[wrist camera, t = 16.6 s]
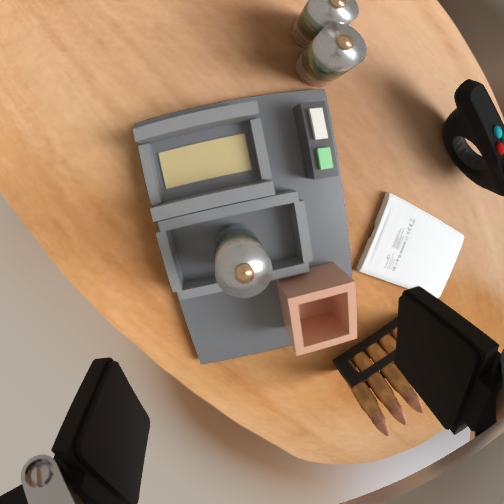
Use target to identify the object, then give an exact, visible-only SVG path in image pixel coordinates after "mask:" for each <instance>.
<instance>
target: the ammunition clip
mask: <svg viewBox="0 0 504 504" xmlns="http://www.w3.org/2000/svg"><path fill="white" fill-rule="evenodd" d="M397 325H398V318H396V319H395V320H393V321H392V322H391V323H389V324H388V325H386V326H385V327H383V328H382V329H381V330H379V331H378V332H376V333H375V334H373V335H372V336H370V337H369V338H367V339H366V340H364V341H362V342H361V343H359V344H358V345H356V346H355V347H353V348H351V349H350V350H348V351H347V352H345V353H343V354H342V355H340V356H338V357H337V358H335V359H333V362H334V364H335V365H336V367H337V369H338V370H339V372H340V373H341V375H342V376H343V378H344V379H345V381H346V382H347V384H348V386H349V387H350V389H351V391H352V392H353V394H354V396H355V398H356V399H357V401H358V403H359V404H360V406H361V408H362V409H363V410H364V411H365V412H366V413H367V415H368V416H369V418H370V419H371V420H372V422H373V424H374V425H375V426H376V427H377V429H378V430H379V431H380V432H382V433H383V434H384V435H386V436H388V435H389V428H388V424H387V421H386V419H385V417H384V415H383V413H382V412H381V409H380V408H379V406H378V403H377V400H376V398H375V397H374V395H373V393H372V392H371V390H370V389H369V388H371V389H372V391H373V392H374V394H375V395H376V397H377V398H378V399H379V400H380V401H381V402H382V403H383V404H384V406H385V407H386V408H387V409H388V411H389V412H390V413H391V414H392V416H393V417H394V418H395V419H396V420H397V421H399V422H400V423H402V424H404V425H405V424H406V416H405V413H404V411H403V409H402V407H401V405H400V404H399V402H398V400H397V399H396V397H395V395H394V393H393V391H392V389H391V387H390V386H389V384H388V383H387V382H386V380H385V379H384V378H386V379H387V381H388V382H389V383H390V385H391V386H392V387H393V388H394V390H395V391H397V392H398V393H399V394H400V395H401V396H402V397H403V398H404V399H405V401H406V402H407V403H408V404H409V405H410V406H411V407H412V408H413V409H414V410H416V411H417V412H420V413H423V406H422V404H421V401H420V399H419V397H418V396H417V394H416V393H415V392H414V390H413V388H412V387H411V386H410V384H409V382H408V381H407V379H406V378H405V377H404V376H403V374H402V373H401V372H400V371H399V369H398V368H397V366H396V364H395V350H396V338H397ZM386 353H387V354H388V355H387V354H386ZM370 358H371V360H372V361H373V362H374V364H373V363H372V361H371V360H370ZM393 361H394V362H393ZM356 367H357V368H358V370H359V371H360V372H358V370H357V368H356ZM379 370H380V371H381V372H379ZM364 380H366V381H364Z"/></svg>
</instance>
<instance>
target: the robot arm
mask: <svg viewBox="0 0 504 504" xmlns="http://www.w3.org/2000/svg"><path fill="white" fill-rule="evenodd" d="M498 347H499V344H497V343H496V342H495V341H494V340H492V339H491V338H490V337H489V336H487V335H486V334H485V333H483V332H482V331H481V330H480V329H478V328H477V327H476V326H474V325H473V324H472V323H470V322H469V321H468V320H466V319H465V318H464V317H462V316H461V315H460V314H458V313H457V312H456V311H454V310H453V309H451V308H450V307H449V306H447V305H446V304H445V303H443V302H442V301H440V300H439V299H438V298H436V297H435V296H433V295H432V294H430V293H429V292H428V291H426V290H425V289H423V288H422V287H420V286H416V287H413V288H411V289H408V290H405V291H404V292H403V293H402V296H401V297H400V298H399V306H398V325H397V338H396V350H395V364H396V366H397V368H398V369H399V371H400V372H401V373H402V374H403V376H404V377H405V378H406V379H407V381H408V382H409V383H410V384H411V386H412V387H413V388H414V389H415V391H416V392H417V393H418V394H419V396H420V397H421V398H422V400H423V401H424V402H425V403H426V405H427V406H428V407H429V409H430V410H431V411H432V412H433V414H434V415H435V416H436V418H437V419H438V420H439V421H440V423H441V424H442V425H443V427H444V428H445V429H448V430H449V429H450V430H451V431H452V432H453V434H454V435H455V434H457V433H458V432H460V431H462V430H463V429H465V428H466V427H467V426H468V427H469V428H470V430H471V434H470V441H469V442H468V443H466V444H465V445H463V446H461V447H460V448H458V449H457V450H455V451H454V452H452V453H450V454H449V455H447V456H445V457H444V458H442V459H440V460H438V461H437V462H435V463H433V464H431V465H429V466H428V467H426V468H424V469H422V470H420V471H418V472H416V473H414V474H412V475H410V476H408V477H406V478H404V479H402V480H399V481H398V482H395V483H393V484H391V485H388V486H386V487H383V488H381V489H379V490H376V491H374V492H371V493H369V494H366V495H363V496H361V497H358V498H355V499H352V500H349V501H347V502H343V503H340V504H504V349H503V351H502V353H501V354H500V353H499V352H498ZM149 429H150V419H149V417H148V415H147V413H146V411H145V410H144V408H143V406H142V405H141V403H140V401H139V400H138V398H137V396H136V394H135V393H134V391H133V389H132V387H131V386H130V384H129V382H128V380H127V378H126V377H125V375H124V373H123V371H122V369H121V367H120V366H119V363H118V362H116V361H113V359H112V358H100V359H95V360H94V361H93V362H92V364H91V366H90V368H89V370H88V372H87V374H86V376H85V378H84V380H83V382H82V384H81V386H80V388H79V390H78V392H77V394H76V396H75V398H74V400H73V402H72V404H71V406H70V409H69V411H68V413H67V415H66V417H65V420H64V422H63V424H62V426H61V428H60V431H59V433H58V435H57V438H56V441H55V443H54V445H53V447H52V452H54V454H55V456H54V458H51V457H50V456H47V455H38V456H35V457H33V458H31V459H30V460H29V461H28V462H27V463H26V464H25V465H24V467H23V469H22V473H21V480H22V485H20V486H18V487H16V488H14V489H13V490H11V491H9V492H7V493H5V494H3V495H2V496H0V504H137V503H138V500H139V491H140V484H141V478H142V471H143V464H144V457H145V451H146V445H147V440H148V433H149Z"/></svg>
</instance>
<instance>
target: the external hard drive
mask: <svg viewBox="0 0 504 504" xmlns="http://www.w3.org/2000/svg"><path fill="white" fill-rule="evenodd" d="M374 225H375V227H374V229H373V232H372V234H371V237H369V238H368V241H367V243H366V246H365V248H364V250H363V253H362V255H361V258H360V260H359V262H358V265H357V267H356V270H358V271H359V272H362V273H365V274H368V275H371V276H373V277H376V278H379V279H382V280H385V281H387V282H390V283H393V284H396V285H399V286H402V287H405V288H408V289H411V288H413V287H416V286H420V287H422V288H423V289H425V290H426V291H428V292H429V293H430V294H432V295H433V296H435V297H436V298H439V297H440V295H441V293H442V291H443V289H444V287H445V285H446V282H447V280H448V278H449V276H450V273H451V271H452V269H453V266H454V264H455V261H456V259H457V256H458V254H459V251H460V249H461V246H462V243H463V240H464V235H463V234H461V233H459V232H458V231H456V230H455V229H453V228H451V227H450V226H448V225H447V224H445V223H443V222H442V221H440V220H438V219H436V218H435V217H433V216H431V215H430V214H428V213H426V212H424V211H423V210H421V209H419V208H417V207H416V206H414V205H412V204H410V203H408V202H406V201H405V200H403V199H401V198H399V197H397V196H395V195H393V194H391V193H388V192H386V193H385V196H384V199H383V201H382V204H381V207H380V210H379V212H378V215H377V218H376V220H375V223H374Z"/></svg>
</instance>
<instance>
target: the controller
mask: <svg viewBox="0 0 504 504" xmlns="http://www.w3.org/2000/svg"><path fill="white" fill-rule="evenodd" d="M454 99H455V102H456V106H457V109H455V110H454V111H453V112H452V113H451V114H450V115H449V117H448V118H447V120H446V121H445V123H444V128H443V137H444V142H445V145H446V148H447V151H448V153H449V155H450V157H451V158H452V160H453V161H454V163H455V164H456V166H457V167H458V168H459V169H460V170H461V171H462V172H463V173H464V174H465V175H466V176H467V177H468V178H469V179H470V180H472V181H473V182H474V183H476V184H477V185H479V186H481V187H483V188H485V189H487V190H490V191H492V192H494V193H496V194H498V195H501V196H504V124H503V122H502V120H501V118H500V116H499V114H498V112H497V110H496V108H495V106H494V104H493V102H492V100H491V98H490V96H489V94H488V92H487V90H486V89H485V87H484V85H483V84H481V83H479V82H476V81H473V80H470V79H468V80H466V81H464V82H463V83H462V84H461V85H460V86H459V87H458V89H457V90H456V92H455V95H454ZM465 138H466V139H468V140H469V141H471V142H472V143H473V144H474V145H475V146H476V147H477V148H478V150H479V151H480V153H481V154H482V156H483V157H482V156H480V155H478V154H477V153H476V152H474V151H473V150H472V149H471V147H470V146H469V145H468V144H467V142H466V140H465Z"/></svg>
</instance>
